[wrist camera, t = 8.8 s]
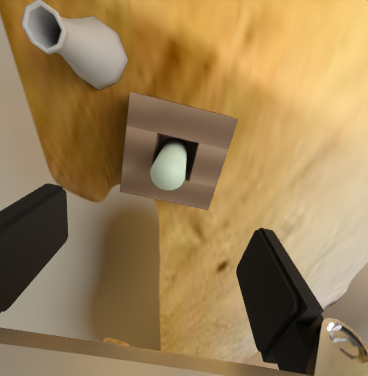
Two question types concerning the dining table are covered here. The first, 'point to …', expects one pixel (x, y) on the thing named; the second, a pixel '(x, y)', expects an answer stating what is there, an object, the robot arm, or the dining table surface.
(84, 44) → the flask
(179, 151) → the peg
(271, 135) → the dining table surface
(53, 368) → the robot arm
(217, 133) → the socket block
